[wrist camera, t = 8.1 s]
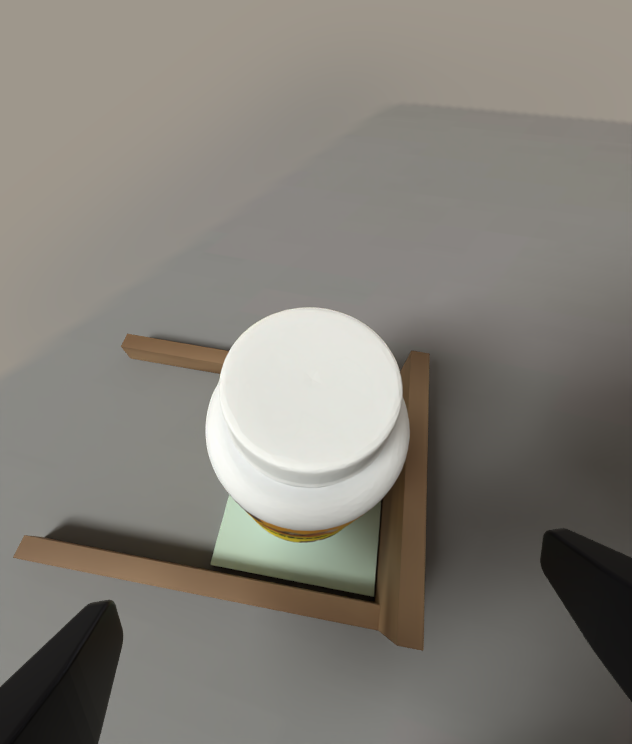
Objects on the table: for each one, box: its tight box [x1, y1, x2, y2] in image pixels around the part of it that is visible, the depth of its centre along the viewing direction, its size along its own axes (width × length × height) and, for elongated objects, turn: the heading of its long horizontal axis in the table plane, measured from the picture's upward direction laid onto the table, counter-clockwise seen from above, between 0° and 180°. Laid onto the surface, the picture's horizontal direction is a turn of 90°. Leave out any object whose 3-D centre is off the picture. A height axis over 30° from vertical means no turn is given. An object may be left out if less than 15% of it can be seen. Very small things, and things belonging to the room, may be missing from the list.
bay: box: [13, 334, 430, 651], centre depth 15 cm, size 11×15×4 cm
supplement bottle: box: [206, 307, 410, 543], centre depth 12 cm, size 6×6×10 cm
